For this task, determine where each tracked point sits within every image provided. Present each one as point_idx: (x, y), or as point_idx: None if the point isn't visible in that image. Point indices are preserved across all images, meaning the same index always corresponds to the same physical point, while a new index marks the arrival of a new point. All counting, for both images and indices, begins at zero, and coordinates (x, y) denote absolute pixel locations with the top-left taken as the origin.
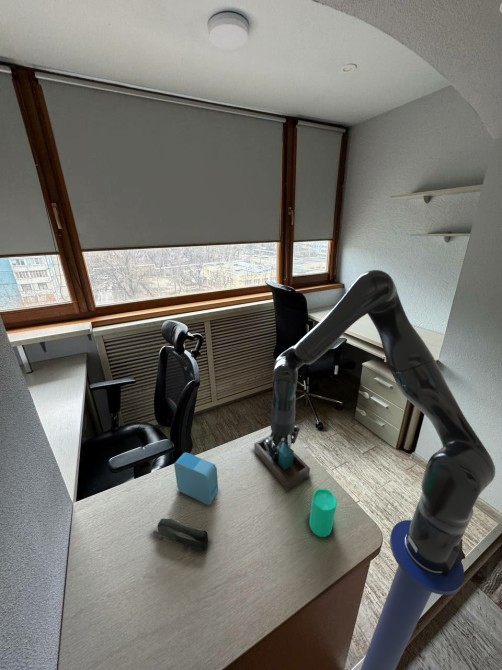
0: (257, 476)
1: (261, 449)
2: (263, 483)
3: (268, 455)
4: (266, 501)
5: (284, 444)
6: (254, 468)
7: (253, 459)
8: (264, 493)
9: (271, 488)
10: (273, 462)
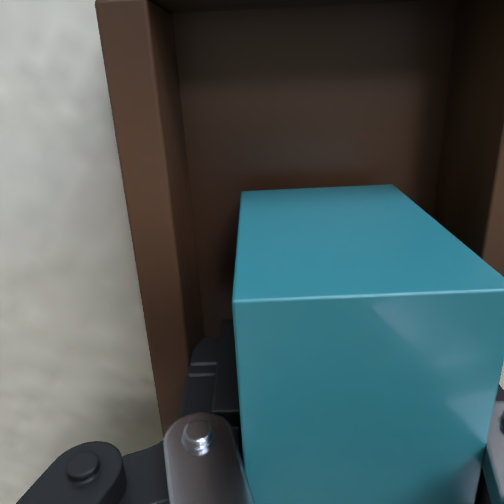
0: (28, 300)
1: (138, 149)
2: (53, 376)
3: (177, 293)
4: (15, 484)
5: (438, 498)
6: (33, 212)
7: (69, 98)
8: (25, 439)
9: (96, 433)
10: (178, 398)
